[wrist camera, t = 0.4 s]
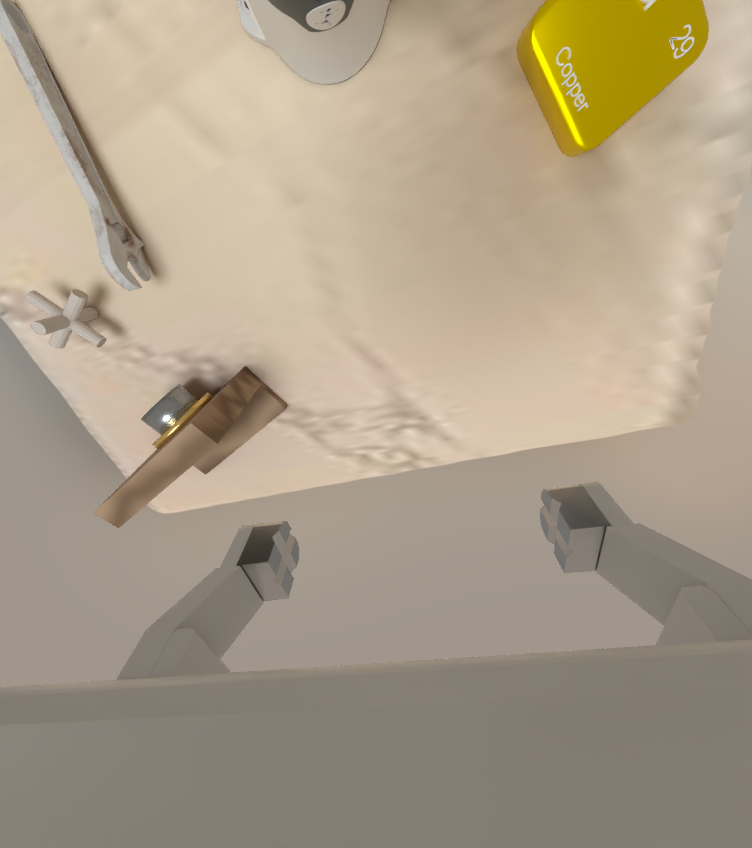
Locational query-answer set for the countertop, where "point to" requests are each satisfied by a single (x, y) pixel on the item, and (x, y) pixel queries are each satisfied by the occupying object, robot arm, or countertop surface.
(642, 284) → the countertop surface
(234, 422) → the board
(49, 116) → the wrench
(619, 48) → the element tile
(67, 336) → the pipe connector
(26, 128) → the countertop surface
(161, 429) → the door knob
